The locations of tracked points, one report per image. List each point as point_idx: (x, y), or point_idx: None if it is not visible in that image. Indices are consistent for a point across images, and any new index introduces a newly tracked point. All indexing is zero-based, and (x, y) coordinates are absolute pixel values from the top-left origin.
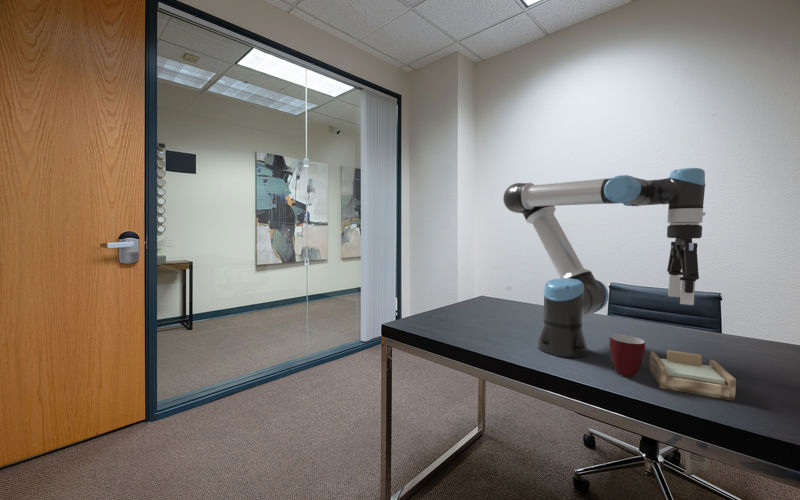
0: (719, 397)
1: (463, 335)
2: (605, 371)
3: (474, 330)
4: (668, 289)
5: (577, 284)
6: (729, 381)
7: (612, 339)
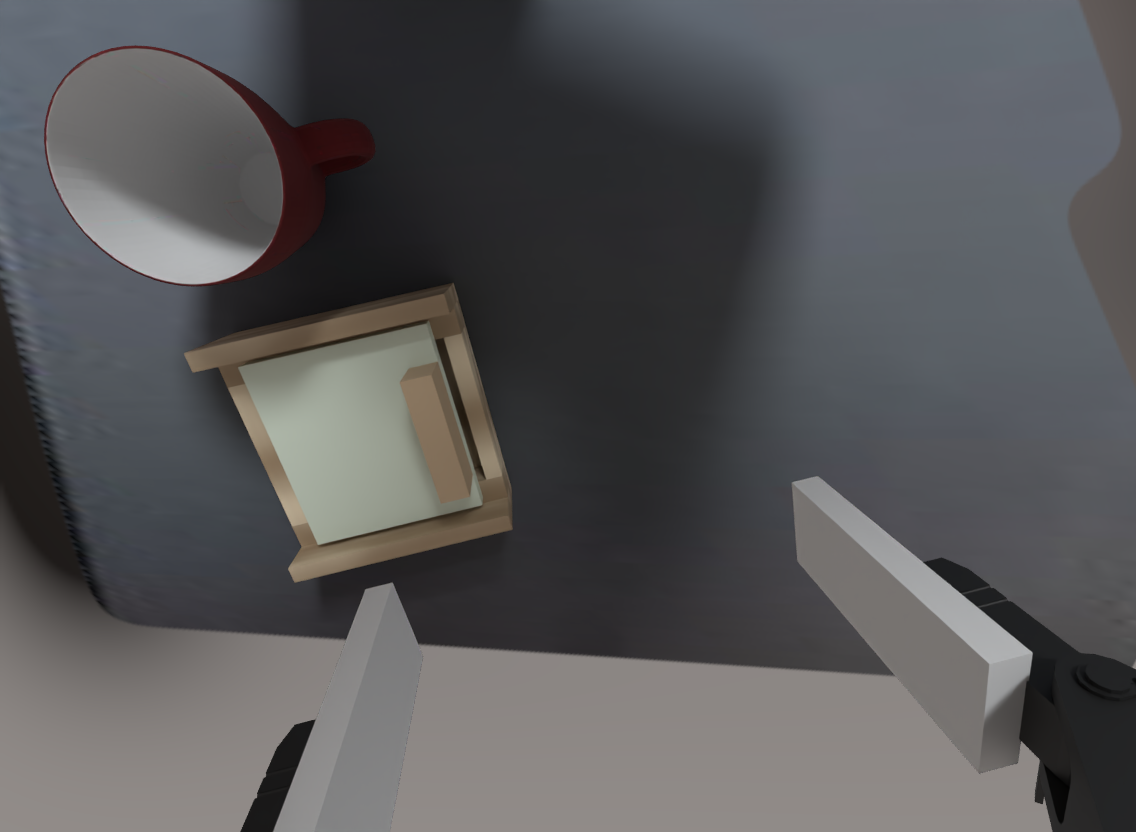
0: None
1: None
2: None
3: None
4: (856, 514)
5: None
6: (301, 558)
7: (68, 74)
